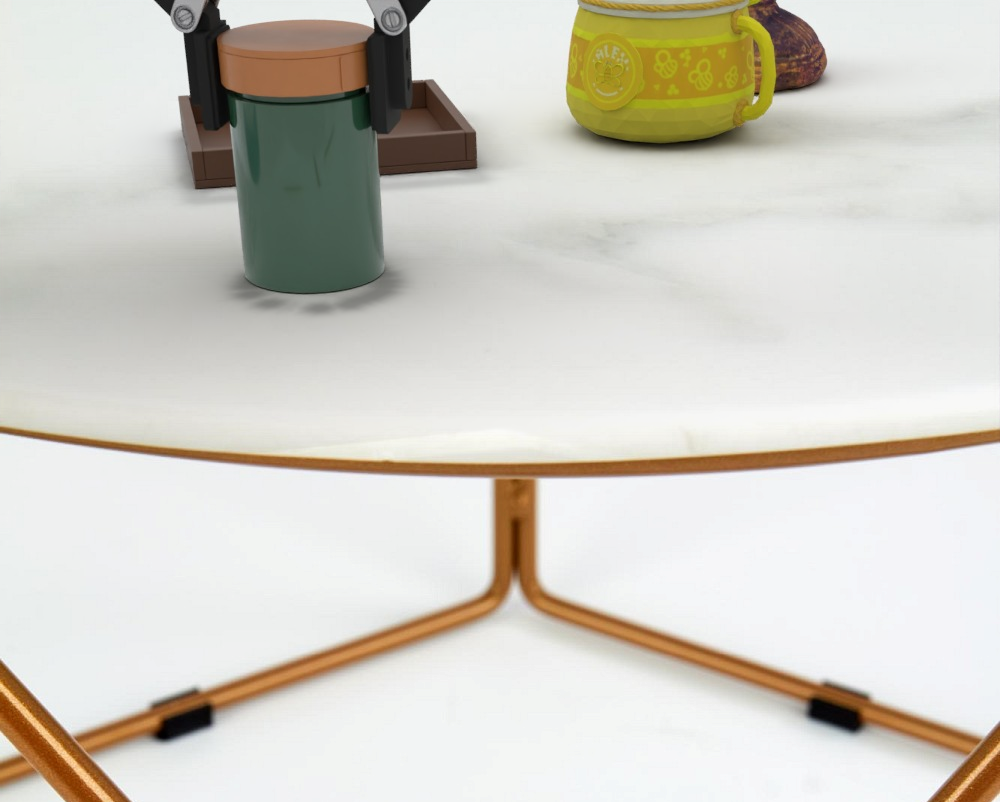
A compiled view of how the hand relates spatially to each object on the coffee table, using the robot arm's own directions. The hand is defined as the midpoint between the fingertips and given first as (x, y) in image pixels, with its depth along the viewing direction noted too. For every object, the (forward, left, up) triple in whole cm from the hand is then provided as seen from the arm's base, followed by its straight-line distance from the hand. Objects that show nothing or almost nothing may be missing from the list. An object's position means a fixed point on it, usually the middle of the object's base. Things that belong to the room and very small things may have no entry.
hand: (303, 121), depth 75 cm
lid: (0, 0, +3) cm, 3 cm away
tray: (+3, +22, -7) cm, 23 cm away
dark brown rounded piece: (+31, +33, -7) cm, 46 cm away
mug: (+23, +20, -7) cm, 31 cm away
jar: (0, 0, -7) cm, 7 cm away
